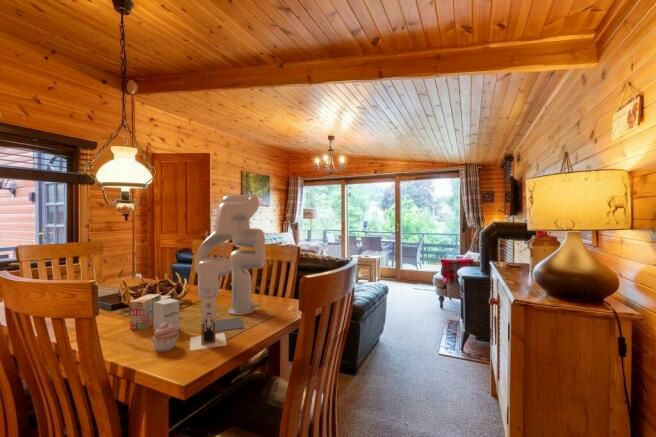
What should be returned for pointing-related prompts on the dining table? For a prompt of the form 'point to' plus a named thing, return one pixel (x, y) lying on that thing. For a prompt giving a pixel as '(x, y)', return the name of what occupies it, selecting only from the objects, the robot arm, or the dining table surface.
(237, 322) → the mat
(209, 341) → the walnut block
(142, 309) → the white printed carton
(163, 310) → the supplement box
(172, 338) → the cupcake
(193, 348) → the tile
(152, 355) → the dining table surface
